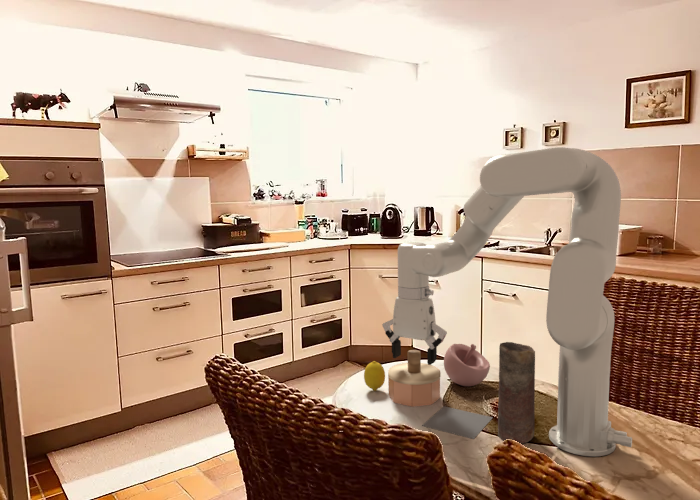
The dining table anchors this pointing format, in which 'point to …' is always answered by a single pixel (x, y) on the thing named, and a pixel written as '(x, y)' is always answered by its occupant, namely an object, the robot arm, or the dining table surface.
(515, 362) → the stone cylinder
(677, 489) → the dining table surface
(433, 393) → the bowl
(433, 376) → the lid
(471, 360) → the mortar and pestle
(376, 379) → the lemon
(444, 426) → the mat
